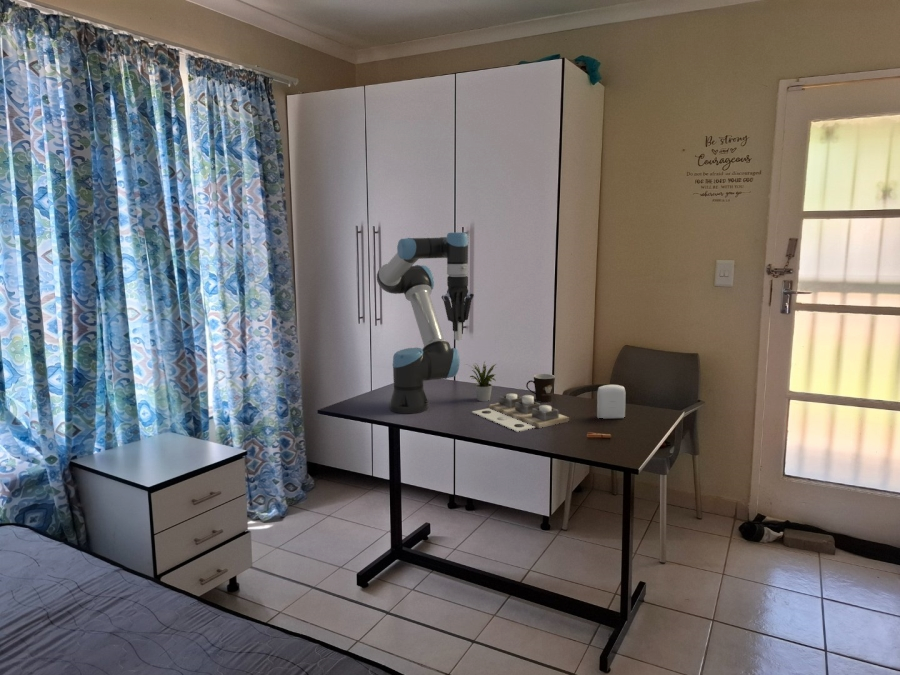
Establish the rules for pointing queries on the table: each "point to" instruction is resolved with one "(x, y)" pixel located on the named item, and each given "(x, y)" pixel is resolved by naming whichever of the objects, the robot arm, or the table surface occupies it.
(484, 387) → the house plant
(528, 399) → the button middle
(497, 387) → the table surface
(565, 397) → the table surface
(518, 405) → the button board
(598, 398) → the photo printer
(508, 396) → the button
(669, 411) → the table surface
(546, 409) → the button
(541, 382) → the coffee mug
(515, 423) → the pattern card
